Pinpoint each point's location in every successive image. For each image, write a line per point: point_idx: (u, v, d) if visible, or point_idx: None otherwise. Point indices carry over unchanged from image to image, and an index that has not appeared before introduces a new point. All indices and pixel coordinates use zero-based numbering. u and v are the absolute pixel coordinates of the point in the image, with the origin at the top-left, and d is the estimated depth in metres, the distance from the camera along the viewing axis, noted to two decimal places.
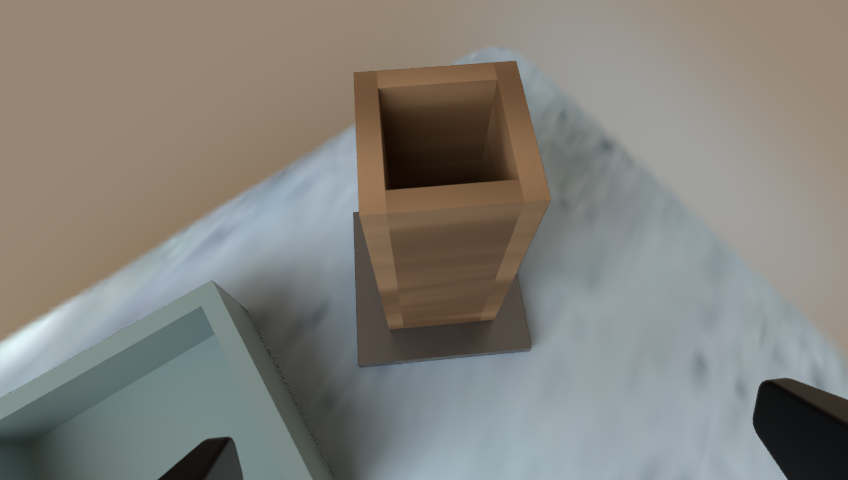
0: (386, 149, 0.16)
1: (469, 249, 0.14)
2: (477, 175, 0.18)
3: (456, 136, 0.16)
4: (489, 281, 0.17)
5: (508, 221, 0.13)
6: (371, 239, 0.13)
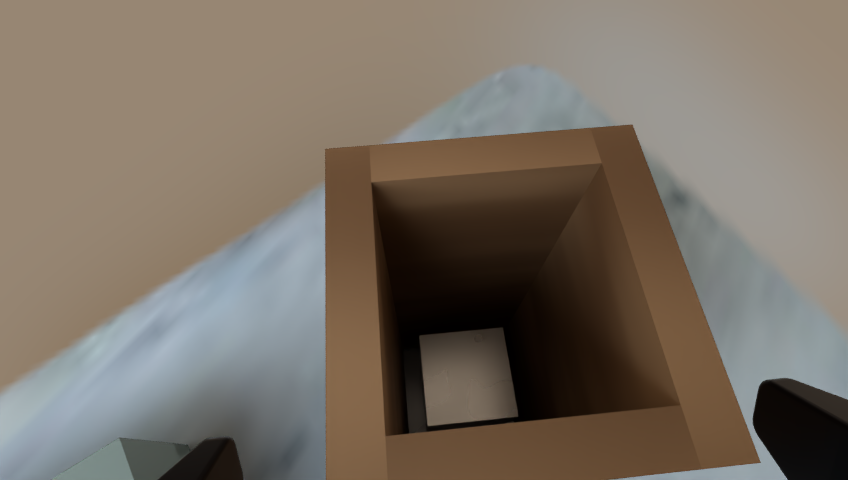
0: (387, 260, 0.10)
1: None
2: (529, 282, 0.12)
3: (507, 241, 0.09)
4: None
5: None
6: None
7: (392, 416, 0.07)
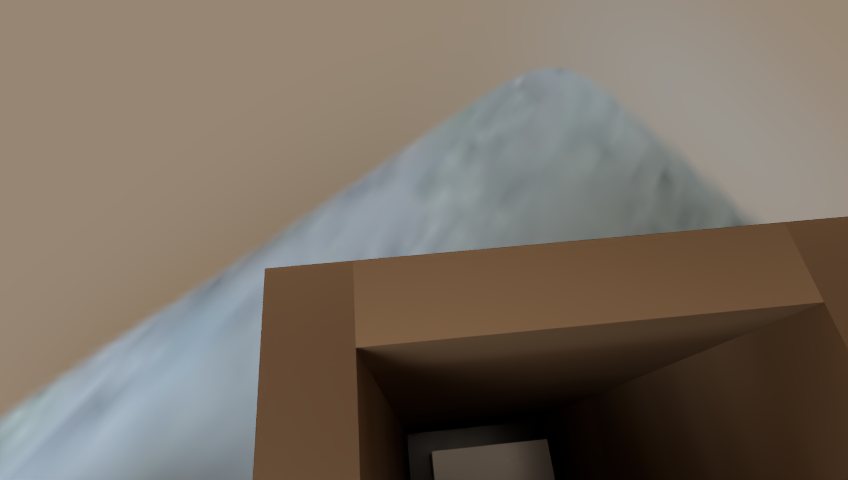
0: (388, 398, 0.06)
1: None
2: (593, 394, 0.08)
3: (583, 374, 0.06)
4: None
5: None
6: None
7: None
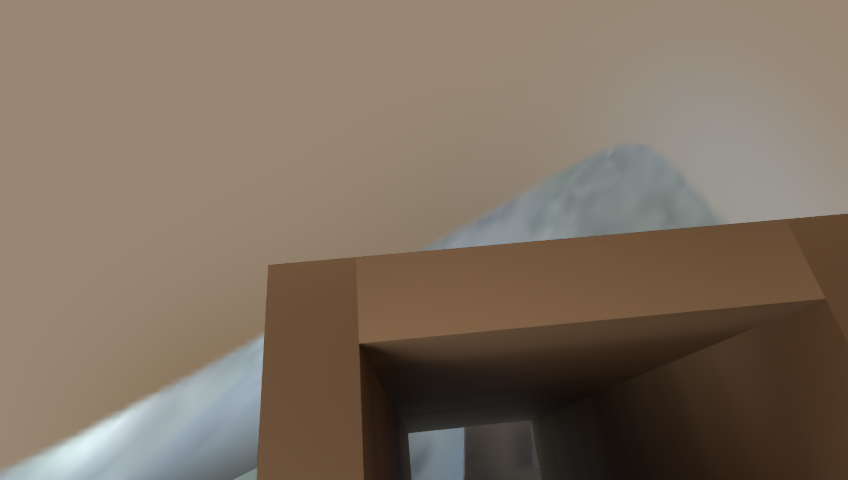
0: (390, 396, 0.06)
1: None
2: (594, 392, 0.08)
3: (585, 371, 0.06)
4: None
5: None
6: None
7: None
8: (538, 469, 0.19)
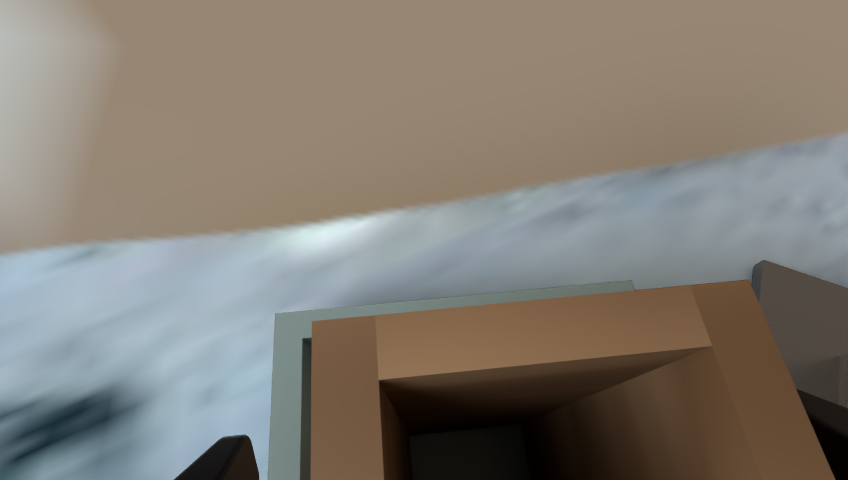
0: (397, 409, 0.07)
1: None
2: (569, 402, 0.10)
3: (554, 390, 0.07)
4: None
5: None
6: None
7: None
8: None
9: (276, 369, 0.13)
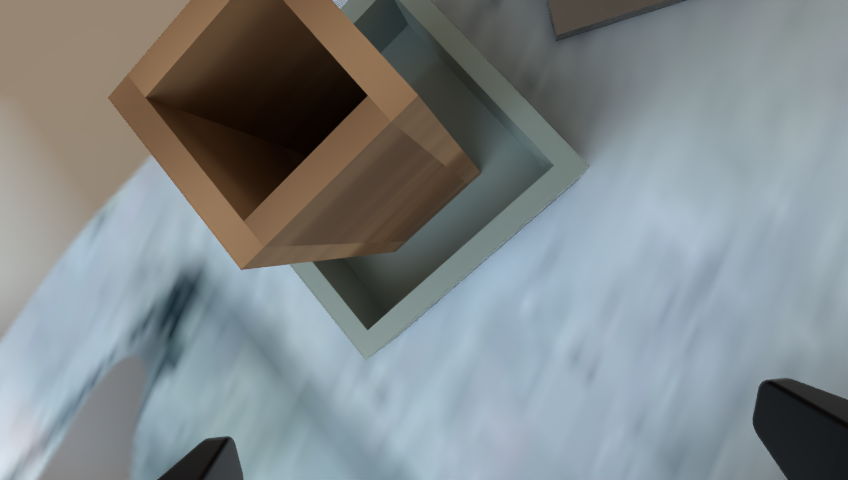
0: (233, 127, 0.13)
1: (388, 181, 0.12)
2: None
3: (286, 56, 0.12)
4: (441, 170, 0.14)
5: (397, 141, 0.10)
6: (283, 260, 0.11)
7: None
8: None
9: None
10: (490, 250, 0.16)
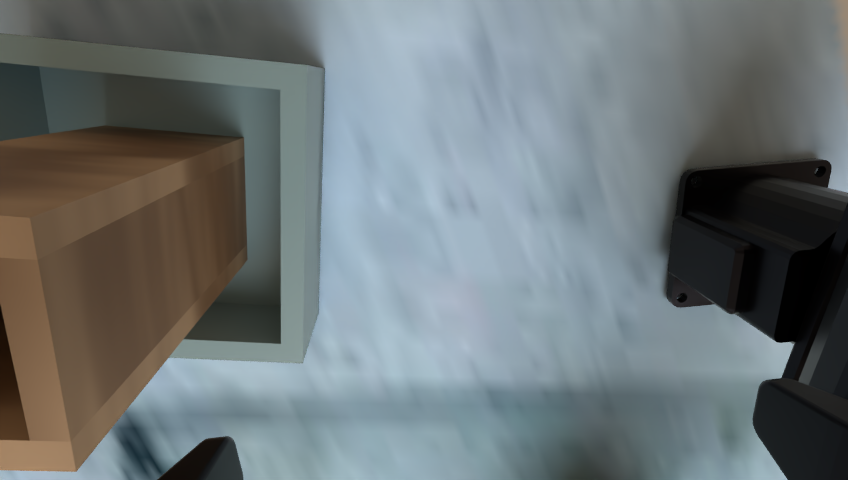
0: None
1: (134, 266, 0.10)
2: None
3: None
4: (187, 191, 0.13)
5: (80, 252, 0.08)
6: (116, 412, 0.10)
7: None
8: None
9: None
10: (303, 202, 0.15)
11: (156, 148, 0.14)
